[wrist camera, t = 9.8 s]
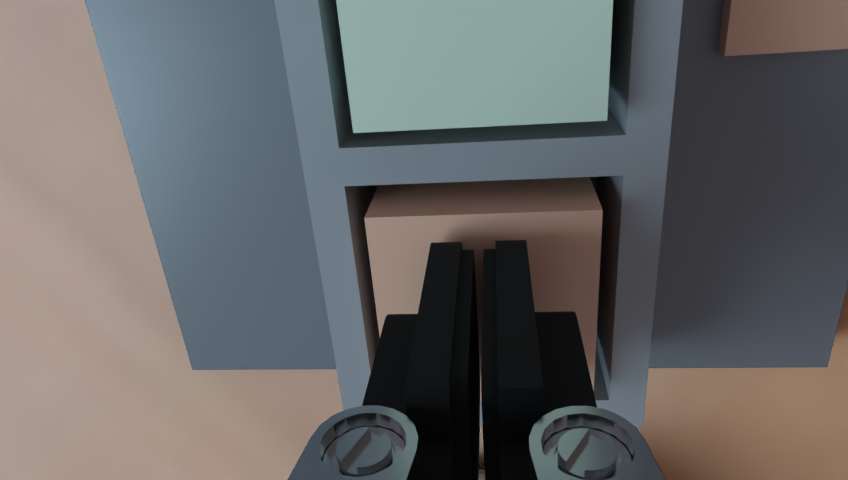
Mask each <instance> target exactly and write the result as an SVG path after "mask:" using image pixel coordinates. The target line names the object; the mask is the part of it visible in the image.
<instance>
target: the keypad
mask: <svg viewBox="0 0 848 480" xmlns="http://www.w3.org/2000/svg"><path fill="white" fill-rule="evenodd" d="M85 3H86V7H87V10H88V13H89V17H90V20H91V24H92V27H93V31H94V34H95V37H96V41H97V44H98V48H99V51H100V54H101V58H102V61H103V65H104V68H105V72H106V75H107V78H108V82H109V85H110V89H111V92H112V96H113V99H114V102H115V106H116V109H117V113H118V116H119V120H120V123H121V126H122V130H123V133H124V137H125V140H126V144H127V147H128V150H129V154H130V157H131V161H132V164H133V167H134V171H135V174H136V178H137V181H138V185H139V188H140V191H141V195H142V198H143V202H144V205H145V209H146V212H147V215H148V219H149V222H150V226H151V229H152V233H153V236H154V239H155V243H156V246H157V250H158V253H159V257H160V260H161V263H162V267H163V270H164V274H165V277H166V280H167V284H168V287H169V291H170V294H171V298H172V301H173V304H174V308H175V311H176V315H177V318H178V322H179V325H180V328H181V332H182V335H183V339H184V342H185V346H186V349H187V352H188V356H189V359H190V363H191V366H192V370H246V369H337V374H338V380H339V386H340V391H341V397H342V403H343V409H344V410H346V409H350V408H354V407H359V406H362V404H363V400H364V396H365V393H366V389H367V385H368V381H369V377H370V374H371V370H372V366H373V362H374V358H375V355H376V351H377V347H378V343H379V339H380V336H379V328H378V321H377V313H376V305H375V297H374V290H373V282H372V274H371V267H370V259H369V251H368V243H367V236H366V228H365V220H364V217H365V215H366V212H367V210H368V208H369V206H370V203H371V201H372V199H373V196H374V194H375V192H376V190H377V187H378V185H393V184H419V183H444V182H470V181H496V180H522V179H547V178H573V177H590V179H591V182H592V184H593V187H594V189H595V192H596V194H597V197H598V199H599V202H600V204H601V207H602V209H603V216H602V236H601V256H600V276H599V296H598V316H597V336H596V357H595V377H594V396H595V400H596V405H597V408H601V409H606V410H608V411H611V412H613V413H615V414H617V415H620V416H622V417H623V418H625V419H626V420H627V421H629V422H630V423H631V424H633V425H634V426H635V427H643V419H644V409H645V398H646V388H647V377H648V368H760V367H828V362H829V358H830V354H831V350H832V346H833V342H834V338H835V334H836V330H837V326H838V322H839V318H840V314H841V310H842V306H843V302H844V298H845V294H846V290H847V285H848V0H613V14H612V34H611V55H610V75H609V95H608V115H607V121H591V122H571V123H550V124H530V125H510V126H489V127H469V128H448V129H428V130H407V131H387V132H367V133H353V128H352V120H351V112H350V104H349V97H348V89H347V81H346V74H345V66H344V58H343V50H342V43H341V35H340V27H339V19H338V12H337V4H336V0H85ZM480 426H483V422H482V401H480Z"/></svg>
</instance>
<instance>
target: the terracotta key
mask: <svg viewBox="0 0 848 480" xmlns="http://www.w3.org/2000/svg"><path fill="white" fill-rule="evenodd" d="M602 216H603V209H602V207H601V204H600V202H599V199H598V197H597V194H596V192H595V189H594V187H593V184H592V182H591V179H590V177H573V178H547V179H522V180H496V181H470V182H444V183H419V184H393V185H378V187H377V190H376V192H375V194H374V196H373V199H372V201H371V203H370V206H369V208H368V210H367V212H366V215H365V217H364V220H365V228H366V236H367V243H368V251H369V259H370V267H371V274H372V282H373V290H374V297H375V305H376V313H377V321H378V328H379V336H381V332H382V328H383V324H384V321H385V318H386V315H388V314H418V310H419V304H420V299H421V293H422V288H423V282H424V277H425V271H426V266H427V261H428V255H429V250H430V245H431V243H437V242H462V249H463V250H473V249H474V260H475V280H476V301H477V322H478V342H479V363H480V401H482V399H481V357H482V300H483V249H496V245H495V241H507V240H526V242H527V250H528V258H529V267H530V275H531V284H532V292H533V301H534V309H535V312H563V311H574V312H575V313H576V316H577V319H578V324H579V328H580V333H581V337H582V342H583V346H584V351H585V355H586V360H587V364H588V369H589V373H590V378H591V382H592V387H593V391H594V377H595V357H596V336H597V316H598V296H599V276H600V256H601V236H602Z"/></svg>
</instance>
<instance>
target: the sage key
mask: <svg viewBox="0 0 848 480" xmlns="http://www.w3.org/2000/svg"><path fill="white" fill-rule="evenodd" d="M336 4H337V12H338V19H339V27H340V35H341V43H342V50H343V58H344V66H345V74H346V81H347V89H348V97H349V104H350V112H351V120H352V128H353V133H367V132H387V131H407V130H428V129H448V128H469V127H489V126H510V125H530V124H550V123H571V122H591V121H607V115H608V95H609V75H610V55H611V34H612V14H613V0H336Z"/></svg>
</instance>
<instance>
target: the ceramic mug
mask: <svg viewBox="0 0 848 480" xmlns="http://www.w3.org/2000/svg"><path fill="white" fill-rule="evenodd" d="M479 480H485V470H482V469H479Z"/></svg>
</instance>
